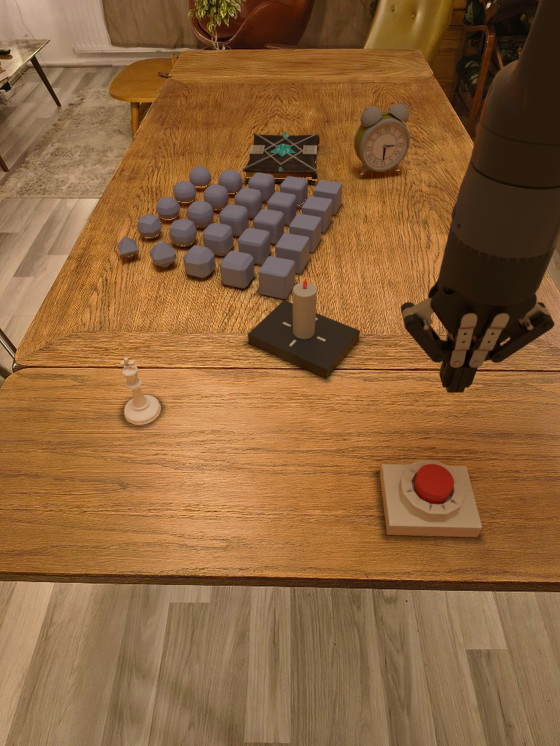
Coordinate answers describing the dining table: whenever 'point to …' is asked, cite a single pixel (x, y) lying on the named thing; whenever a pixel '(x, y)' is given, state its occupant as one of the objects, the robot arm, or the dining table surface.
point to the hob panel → (304, 340)
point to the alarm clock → (382, 138)
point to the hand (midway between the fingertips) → (453, 386)
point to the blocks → (243, 228)
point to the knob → (304, 310)
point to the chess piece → (138, 398)
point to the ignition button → (433, 483)
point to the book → (283, 156)
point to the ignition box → (428, 504)
